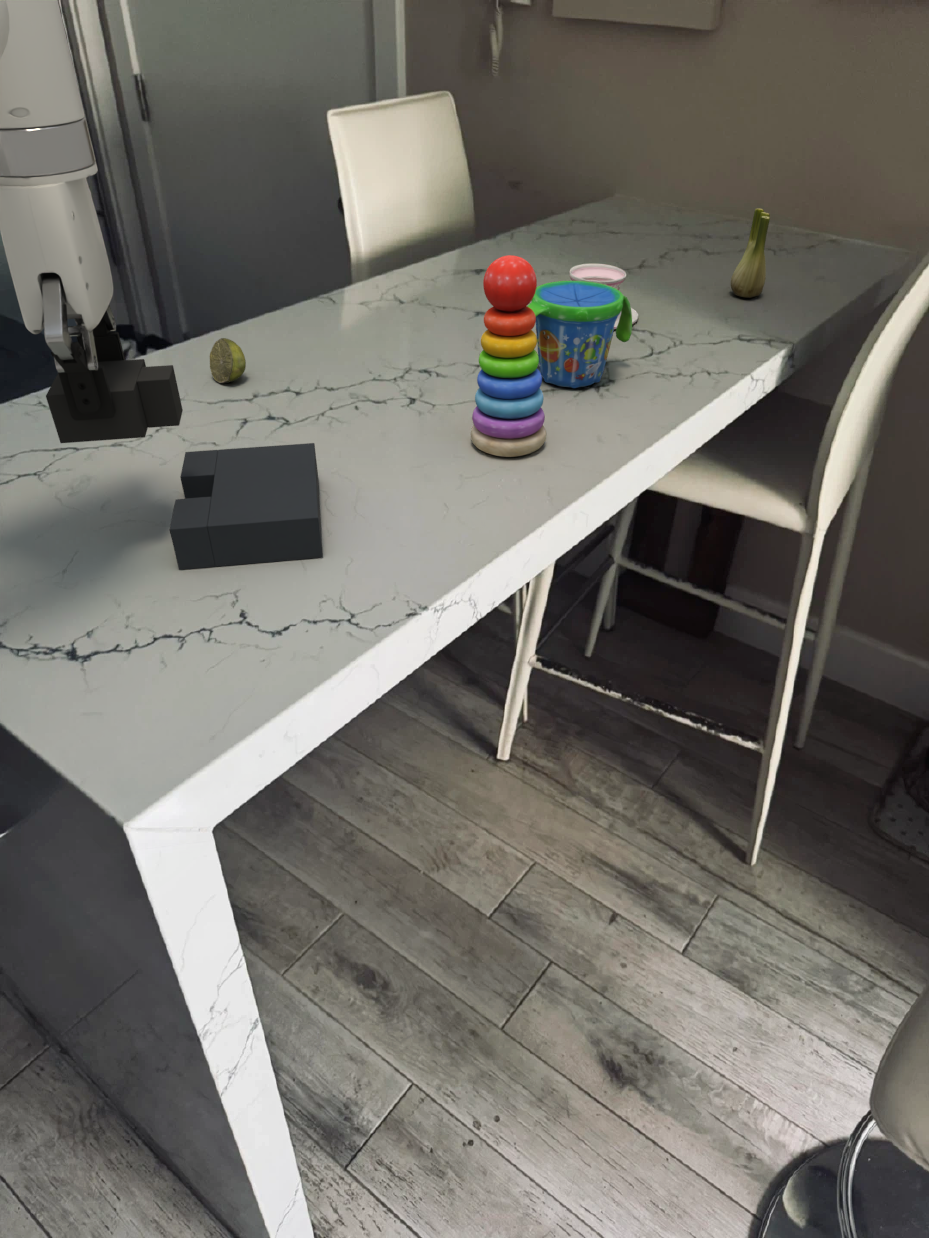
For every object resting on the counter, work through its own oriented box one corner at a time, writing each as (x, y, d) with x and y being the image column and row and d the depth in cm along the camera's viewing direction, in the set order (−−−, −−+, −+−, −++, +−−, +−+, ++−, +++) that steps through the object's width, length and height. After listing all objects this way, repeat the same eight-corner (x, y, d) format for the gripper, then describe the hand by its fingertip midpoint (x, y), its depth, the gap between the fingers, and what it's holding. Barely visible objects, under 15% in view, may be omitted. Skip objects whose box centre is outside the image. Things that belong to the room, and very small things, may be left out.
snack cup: (604, 354, 112) (612, 272, 106) (649, 384, 105) (661, 297, 98) (494, 372, 107) (496, 288, 101) (533, 405, 100) (537, 316, 94)
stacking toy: (554, 432, 94) (566, 250, 83) (534, 465, 88) (544, 273, 77) (484, 422, 96) (486, 243, 85) (460, 453, 90) (459, 265, 79)
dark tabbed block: (60, 443, 69) (45, 395, 67) (76, 409, 74) (62, 363, 72) (177, 435, 70) (166, 388, 68) (184, 402, 75) (175, 357, 73)
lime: (240, 389, 103) (234, 347, 100) (202, 385, 104) (195, 344, 101) (255, 374, 107) (249, 334, 104) (218, 371, 108) (211, 331, 105)
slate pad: (178, 570, 73) (169, 529, 71) (193, 489, 84) (185, 451, 82) (322, 557, 75) (318, 517, 72) (318, 480, 86) (314, 442, 83)
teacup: (541, 307, 127) (544, 263, 123) (618, 301, 129) (623, 257, 126) (569, 335, 118) (572, 288, 114) (651, 328, 120) (657, 282, 116)
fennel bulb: (755, 303, 128) (773, 216, 121) (723, 298, 130) (738, 212, 123) (766, 293, 132) (784, 208, 125) (734, 288, 134) (750, 204, 127)
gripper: (9, 132, 66) (74, 361, 77) (-64, 180, 52) (29, 451, 63) (111, 128, 67) (162, 356, 78) (66, 176, 53) (135, 443, 64)
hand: (102, 396), depth 71 cm, fingers closed on dark tabbed block, 6 cm apart
